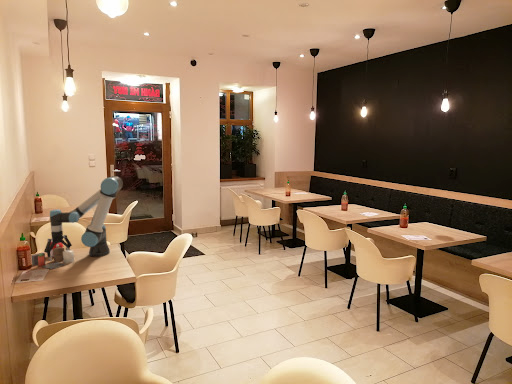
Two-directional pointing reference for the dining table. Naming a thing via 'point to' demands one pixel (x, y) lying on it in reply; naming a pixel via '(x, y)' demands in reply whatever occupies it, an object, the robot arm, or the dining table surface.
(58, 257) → the walnut block
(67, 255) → the beige rounded block
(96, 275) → the dining table surface
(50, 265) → the slate coaster
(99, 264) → the dining table surface
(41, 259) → the sauce shaker
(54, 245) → the mushroom
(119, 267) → the dining table surface
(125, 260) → the dining table surface
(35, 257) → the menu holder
